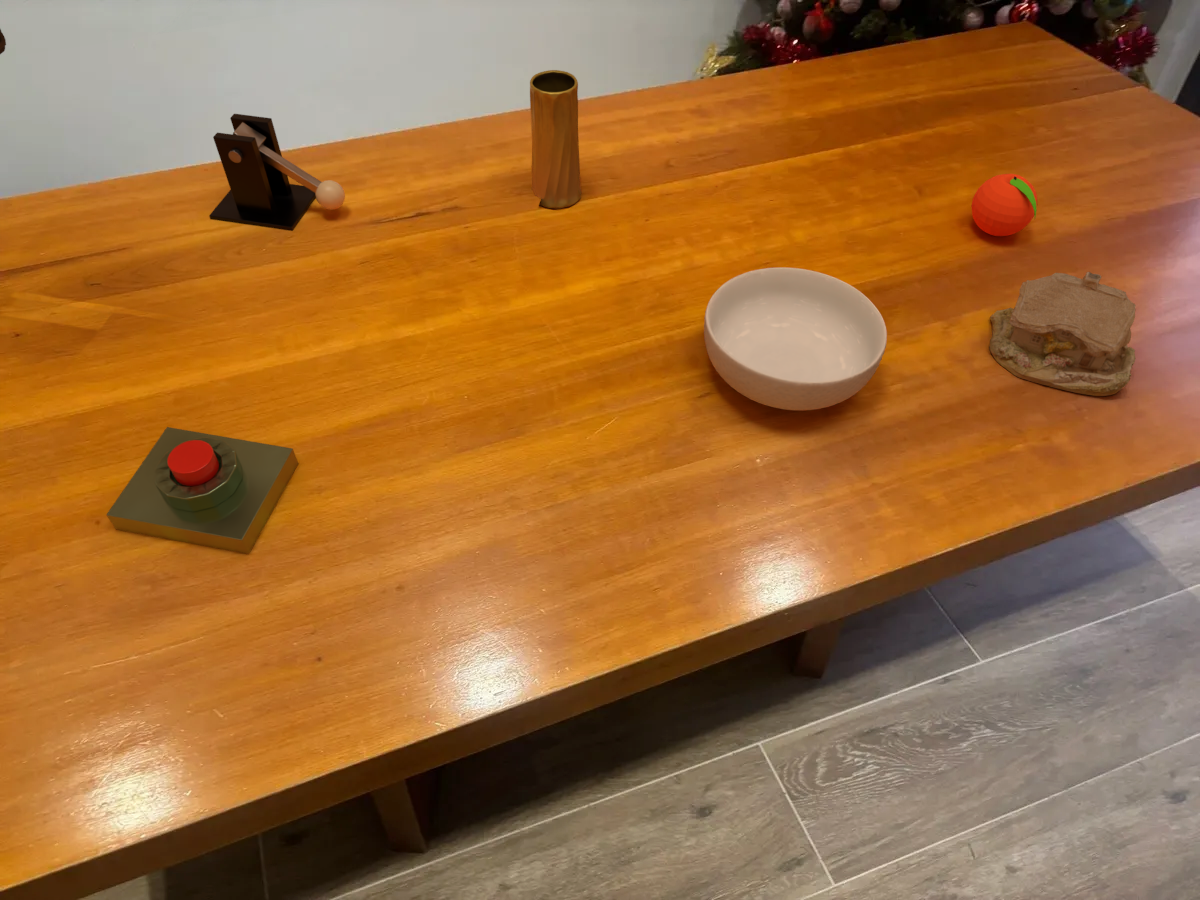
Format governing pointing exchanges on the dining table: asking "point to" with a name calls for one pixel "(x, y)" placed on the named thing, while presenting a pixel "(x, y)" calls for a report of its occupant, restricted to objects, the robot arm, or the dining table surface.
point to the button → (193, 463)
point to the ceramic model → (1067, 335)
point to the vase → (555, 138)
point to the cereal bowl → (793, 337)
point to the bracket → (257, 181)
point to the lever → (297, 172)
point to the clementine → (1004, 205)
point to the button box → (206, 493)
